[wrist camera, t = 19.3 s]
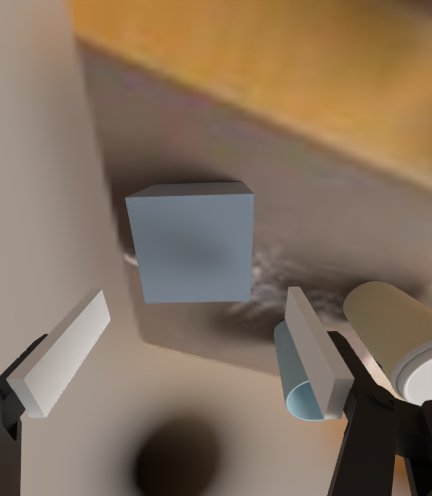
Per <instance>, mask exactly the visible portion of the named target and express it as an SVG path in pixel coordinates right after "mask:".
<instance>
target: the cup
mask: <svg viewBox="0 0 432 496" xmlns="http://www.w3.org/2000/svg"><path fill="white" fill-rule="evenodd" d="M274 341H275V347H276V352H277V358H278V364H279V370H280V375H281V381H282V387H283V393H284V399H285V404H286V408H287V410H288V411H289V412H290V414H292V415H293V416H295V417H296V418H299V419H302V420H306V421H322V420H327V419H324V418H323V415H322V413H321V410H320V408H319V405H318V402H317V400H316V397H315V395H314V392H313V390H312V387H311V384H310V382H309V379H308V377H307V374H306V372H305V369H304V367H303V364H302V361H301V359H300V356H299V354H298V351H297V349H296V346H295V343H294V341H293V338H292V336H291V333H290V331H289V328H288V326H287V323H286V320H284V321H282V322H280V323H279V324H278V325H277V326H276V327H275V329H274ZM343 413H344V411H343Z"/></svg>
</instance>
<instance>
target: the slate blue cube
mask: <svg viewBox="0 0 432 496" xmlns="http://www.w3.org/2000/svg"><path fill="white" fill-rule="evenodd" d="M125 200H126V205H127V210H128V216H129V221H130V226H131V231H132V236H133V241H134V247H135V252H136V257H137V262H138V267H139V273H140V278H141V283H142V288H143V293H144V298H145V303H184V302H231V301H250V294H251V269H252V243H253V217H254V193H253V192H252V191H251V190H250V189H249V188H248V187H247V186H246V185H245V184H244V183H243V182H214V183H181V184H154V185H152V186H150V187H148V188H145V189H143V190H141V191H139V192H136V193H134V194H132V195H130V196H127V197H125Z"/></svg>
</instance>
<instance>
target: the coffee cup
mask: <svg viewBox="0 0 432 496" xmlns="http://www.w3.org/2000/svg"><path fill="white" fill-rule="evenodd" d="M343 311H344V314H345V316H346V318H347V320H348V321H349V323H350V324H351V326H352V327H353V329H354V330H355V332H356V333H357V335H358V336H359V337H360V339H361V340H362V342H363V343H364V345H365V346H366V348H367V349H368V351H369V352H370V354H371V355H372V357H373V358H374V360H375V361H376V363H377V364H378V365H379V367H380V368H381V370H382V371H383V373H384V374H385V376H386V377H387V378H388V380H389V381H390V383H391V385H392V387H393V389H394V391H395V392H396V393H397V394H398V396H399V397H401V398H402V399H403V400H405V401H407V402H409V403H412V404H416V405H419V406H421V405H422V404H423V403H424V402H425V401H426V400H432V310H431V309H430V308H428V307H427V306H425V305H423V304H422V303H420V302H419V301H417V300H415V299H414V298H412V297H411V296H409V295H407V294H406V293H404V292H403V291H401V290H399V289H398V288H396V287H394V286H393V285H391V284H389V283H386V282H383V281H371V282H367V283H364V284H361V285H359V286H358V287H356V288H355V289H353V290H352V291H351V292H350V293H349V294H348V296H347V297H346V299H345V301H344V304H343Z"/></svg>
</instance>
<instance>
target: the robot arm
mask: <svg viewBox="0 0 432 496" xmlns="http://www.w3.org/2000/svg"><path fill="white" fill-rule="evenodd" d="M285 320H286V323H287V326H288V328H289V331H290V333H291V336H292V338H293V341H294V343H295V346H296V349H297V351H298V354H299V356H300V359H301V361H302V364H303V367H304V369H305V372H306V374H307V377H308V379H309V382H310V384H311V387H312V390H313V392H314V395H315V397H316V400H317V402H318V405H319V408H320V410H321V413H322V415H323V418H324V419H341V417H342V414H343V411H344V413H345V415H346V417H347V419H348V424H347V426H346V429H345V432H344V438H343V442H342V445H341V449H340V452H339V455H338V459H337V463H336V467H335V470H334V473H333V477H332V480H331V484H330V488H329V491H328V495H327V496H391V494H392V483H393V474H394V473H393V472H394V463H395V454H396V455H399V456H402V457H404V461H405V466H406V471H407V476H408V481H409V485H410V490H411V495H412V496H432V400H426V401H425V402H424V403H423V404H422V405H421V406H419V405H416V404H412V403H409V402H405V401H402V400H399V399H397V398H395V397H394V396H393V395H392V394H391V393H390V392H389V391H388V390H386V389H385V388H383V387H382V386H379V385H377V384H376V382H375V381H374V380H373V378H372V377H371V375H370V374H369V372H368V371H367V369H366V368H365V366H364V365H363V363H362V362H361V360H360V359H359V357H358V356H356V353H355V352H354V350H353V349H352V348H351V346H350V344H349V343H348V341H347V340H346V338H344V337H343V336H342V335H341V334H340V333H338V332H337V331H326V330H325V328H324V327H323V325H322V323H321V322H320V320H319V318H318V316H317V315H316V313H315V311H314V310H313V308H312V306H311V305H310V303H309V301H308V300H307V298H306V296H305V295H304V293H303V291H302V290H301V288H300V287H288V295H287V303H286V311H285ZM109 321H110V316H109V313H108V309H107V306H106V302H105V299H104V295H103V292H102V290H100V289H97V290H90V291H89V293H87V295H86V296H85V297H84V298H83V299H82V300H81V301H80V302H79V303H78V304H77V305H76V306H75V307H74V308H73V309H72V310H71V311H70V312H69V314H67V316H66V317H65V318H64V319H63V320H62V321H61V322H60V323H59V324H58V325H57V326H56V327H55V328H54V329H53V330H52V331H51V332H50V333H49V334H44V335H43V336H41V337H40V338H38V339H37V340H36V341H34V342H33V343H32V344H31V345H30V346H29V347H28V348H27V349H26V351H24V352H23V353H22V354H21V355H20V357H19V358H17V359H16V360H15V361H14V362H13V363H12V364H11V365H10V366H9V367H8V369H6V370H5V371H4V372H3V373H2V374H1V376H0V496H20V479H21V431H22V430H21V429H22V422H21V419H20V416H21V415H22V414H23V412H24V411H25V410H26V412H27V414H28V415H29V417H30V418H46V417H47V415H48V414H49V412H50V410H51V409H52V407H53V406H54V404H55V403H56V401H57V400H58V398H59V397H60V395H61V394H62V392H63V391H64V389H65V388H66V386H67V385H68V383H69V382H70V380H71V379H72V377H73V376H74V374H75V373H76V371H77V370H78V368H79V367H80V365H81V364H82V362H83V361H84V359H85V357H86V356H87V355H88V353H89V352H90V350H91V348H92V347H93V346H94V344H95V343H96V341H97V340H98V338H99V337H100V335H101V334H102V332H103V331H104V329H105V328H106V326H107V325H108V323H109Z"/></svg>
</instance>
